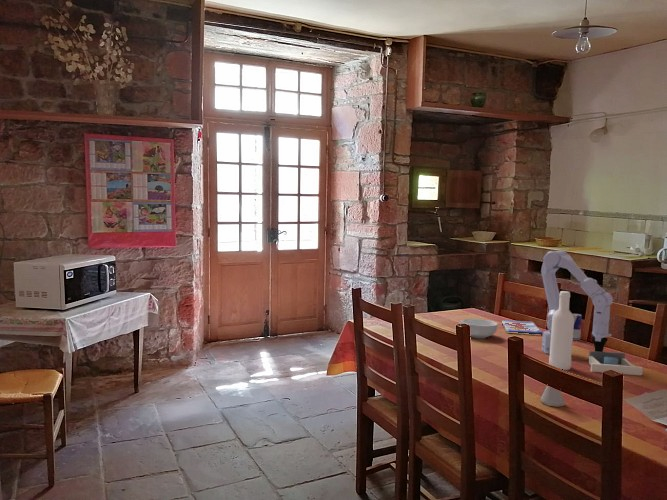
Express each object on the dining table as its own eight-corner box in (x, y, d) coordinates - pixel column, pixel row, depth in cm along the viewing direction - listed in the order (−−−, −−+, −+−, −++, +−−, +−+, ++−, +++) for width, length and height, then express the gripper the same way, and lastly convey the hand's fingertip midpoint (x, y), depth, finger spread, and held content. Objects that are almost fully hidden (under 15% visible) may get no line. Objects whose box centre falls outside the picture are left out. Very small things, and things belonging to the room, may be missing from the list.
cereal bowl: (500, 335, 256) (501, 321, 255) (491, 343, 242) (491, 327, 241) (466, 330, 265) (467, 316, 264) (455, 337, 251) (455, 322, 250)
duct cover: (589, 362, 215) (590, 351, 214) (588, 361, 216) (589, 350, 216) (624, 364, 213) (625, 353, 213) (623, 363, 214) (624, 352, 214)
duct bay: (591, 371, 204) (592, 363, 204) (582, 362, 215) (583, 355, 215) (642, 375, 201) (642, 367, 201) (630, 366, 212) (630, 358, 212)
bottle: (573, 367, 208) (579, 292, 206) (566, 371, 203) (571, 294, 200) (553, 362, 214) (558, 289, 211) (545, 366, 208) (550, 291, 206)
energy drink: (581, 341, 249) (583, 316, 248) (569, 340, 250) (571, 315, 249) (578, 338, 255) (580, 313, 254) (566, 337, 256) (568, 313, 255)
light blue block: (605, 369, 207) (606, 359, 207) (601, 365, 212) (602, 356, 212) (619, 370, 206) (620, 360, 206) (614, 366, 211) (615, 357, 211)
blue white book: (534, 326, 280) (534, 321, 280) (543, 337, 257) (543, 331, 257) (500, 323, 283) (500, 318, 283) (506, 334, 260) (506, 329, 260)
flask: (536, 399, 173) (538, 369, 172) (557, 398, 174) (559, 369, 173) (547, 407, 166) (549, 376, 165) (569, 407, 167) (571, 376, 166)
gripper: (610, 327, 207) (607, 361, 208) (613, 320, 219) (611, 352, 220) (590, 324, 210) (587, 357, 212) (594, 318, 223) (592, 349, 224)
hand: (598, 355), depth 216 cm, fingers closed, pressing on duct cover
